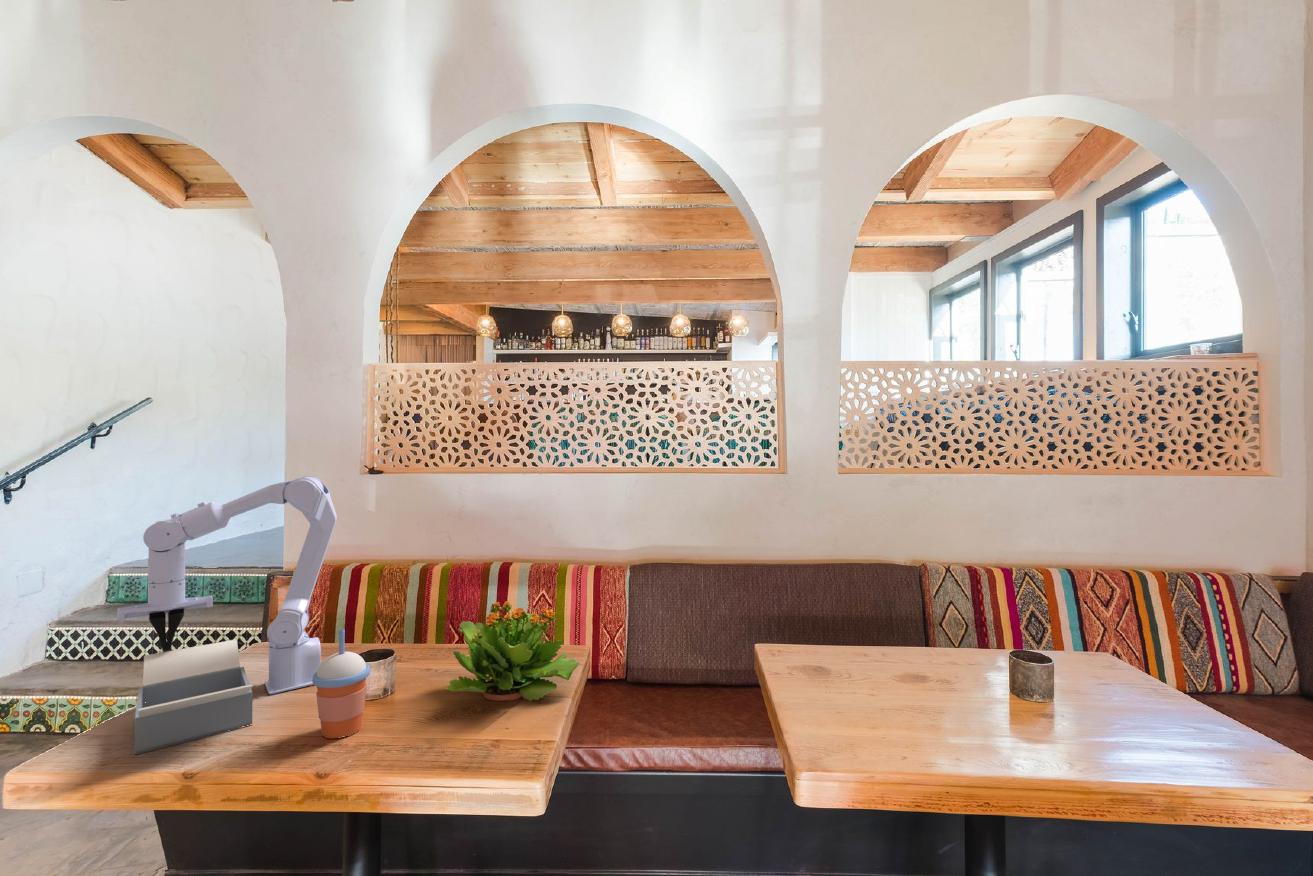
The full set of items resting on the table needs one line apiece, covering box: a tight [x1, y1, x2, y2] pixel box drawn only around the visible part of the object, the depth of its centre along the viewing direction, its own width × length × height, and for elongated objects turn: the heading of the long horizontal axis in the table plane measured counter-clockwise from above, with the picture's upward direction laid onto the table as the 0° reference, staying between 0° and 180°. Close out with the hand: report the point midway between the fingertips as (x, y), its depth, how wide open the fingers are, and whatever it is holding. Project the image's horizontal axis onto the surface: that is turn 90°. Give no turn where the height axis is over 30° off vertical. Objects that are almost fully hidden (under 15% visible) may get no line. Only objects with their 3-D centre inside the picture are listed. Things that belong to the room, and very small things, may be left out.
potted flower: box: [446, 600, 580, 702], centre depth 121 cm, size 25×24×18 cm
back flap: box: [142, 639, 241, 687], centre depth 117 cm, size 15×8×1 cm, turn 130°
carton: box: [134, 666, 253, 756], centre depth 108 cm, size 16×16×6 cm
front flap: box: [138, 683, 254, 718], centre depth 100 cm, size 15×8×1 cm, turn 130°
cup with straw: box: [312, 628, 371, 739], centre depth 105 cm, size 9×9×18 cm
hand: (166, 649), depth 118 cm, fingers closed
